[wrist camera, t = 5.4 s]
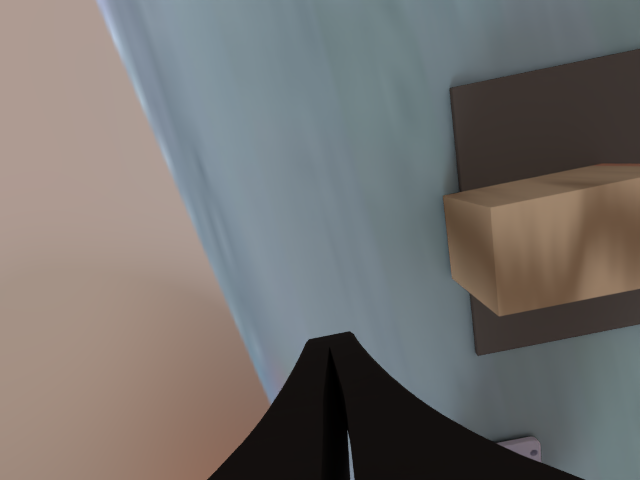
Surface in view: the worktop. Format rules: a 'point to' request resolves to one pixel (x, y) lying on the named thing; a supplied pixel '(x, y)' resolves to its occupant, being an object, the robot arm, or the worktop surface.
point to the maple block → (547, 238)
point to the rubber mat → (549, 168)
